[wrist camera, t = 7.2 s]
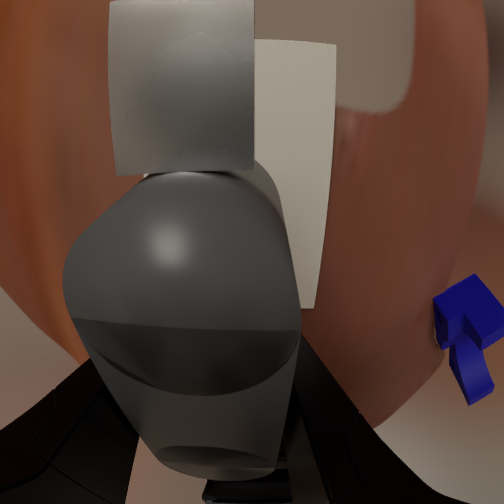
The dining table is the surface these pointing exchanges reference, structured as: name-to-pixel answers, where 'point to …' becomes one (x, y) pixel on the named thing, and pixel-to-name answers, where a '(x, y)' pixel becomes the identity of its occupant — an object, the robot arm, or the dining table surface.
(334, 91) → the mat
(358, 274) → the dining table surface
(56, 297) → the dining table surface
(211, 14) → the connector
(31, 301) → the dining table surface
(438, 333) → the cable clip
